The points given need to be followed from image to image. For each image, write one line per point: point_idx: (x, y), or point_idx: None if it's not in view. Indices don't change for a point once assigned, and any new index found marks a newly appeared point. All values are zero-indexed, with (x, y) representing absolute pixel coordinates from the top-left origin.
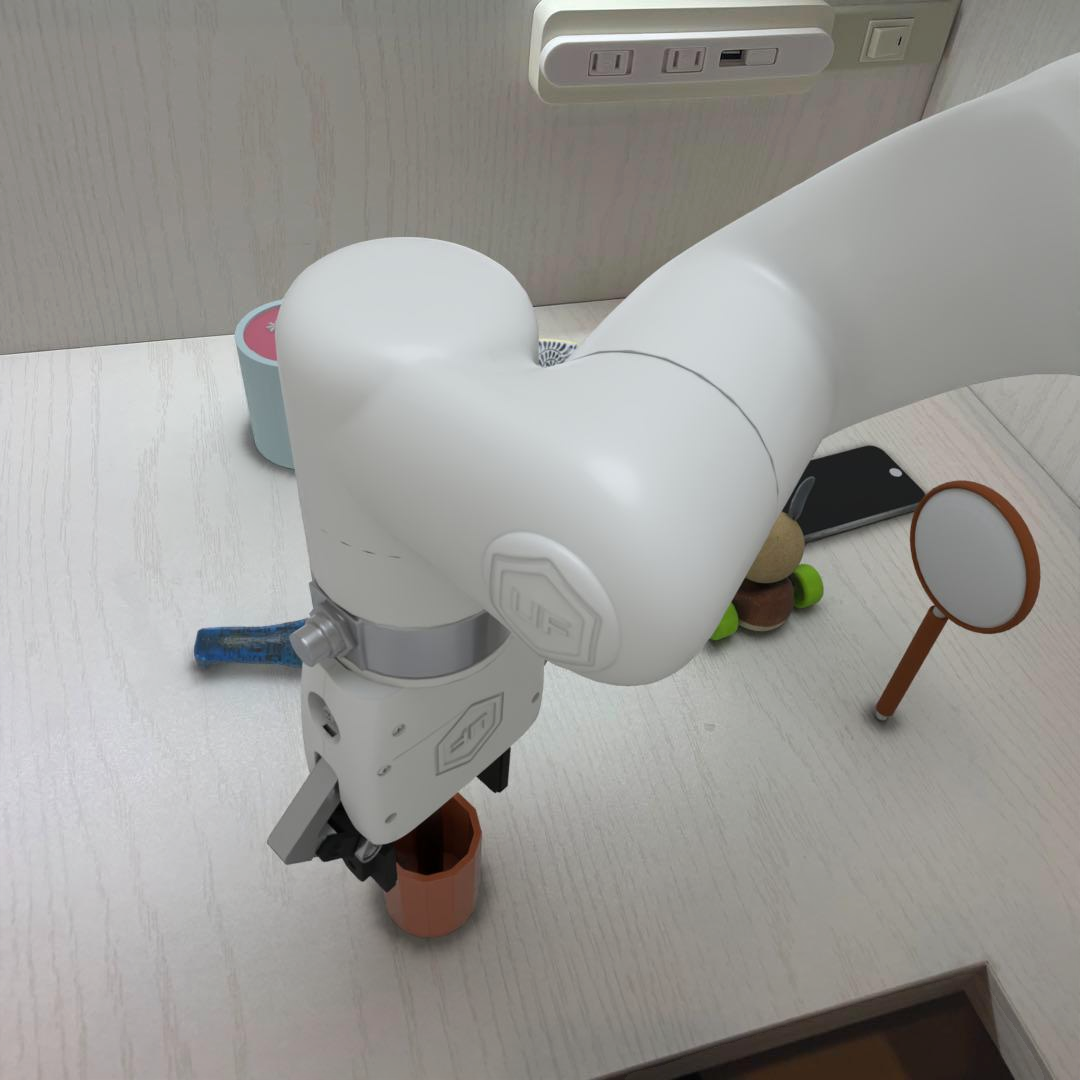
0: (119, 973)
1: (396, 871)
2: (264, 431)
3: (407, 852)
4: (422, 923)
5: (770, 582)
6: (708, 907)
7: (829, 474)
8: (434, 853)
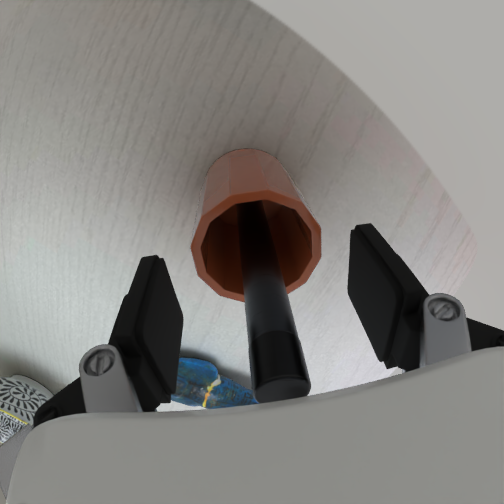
0: (433, 264)
1: (363, 243)
2: None
3: None
4: (284, 169)
5: None
6: (47, 51)
7: None
8: (259, 225)
